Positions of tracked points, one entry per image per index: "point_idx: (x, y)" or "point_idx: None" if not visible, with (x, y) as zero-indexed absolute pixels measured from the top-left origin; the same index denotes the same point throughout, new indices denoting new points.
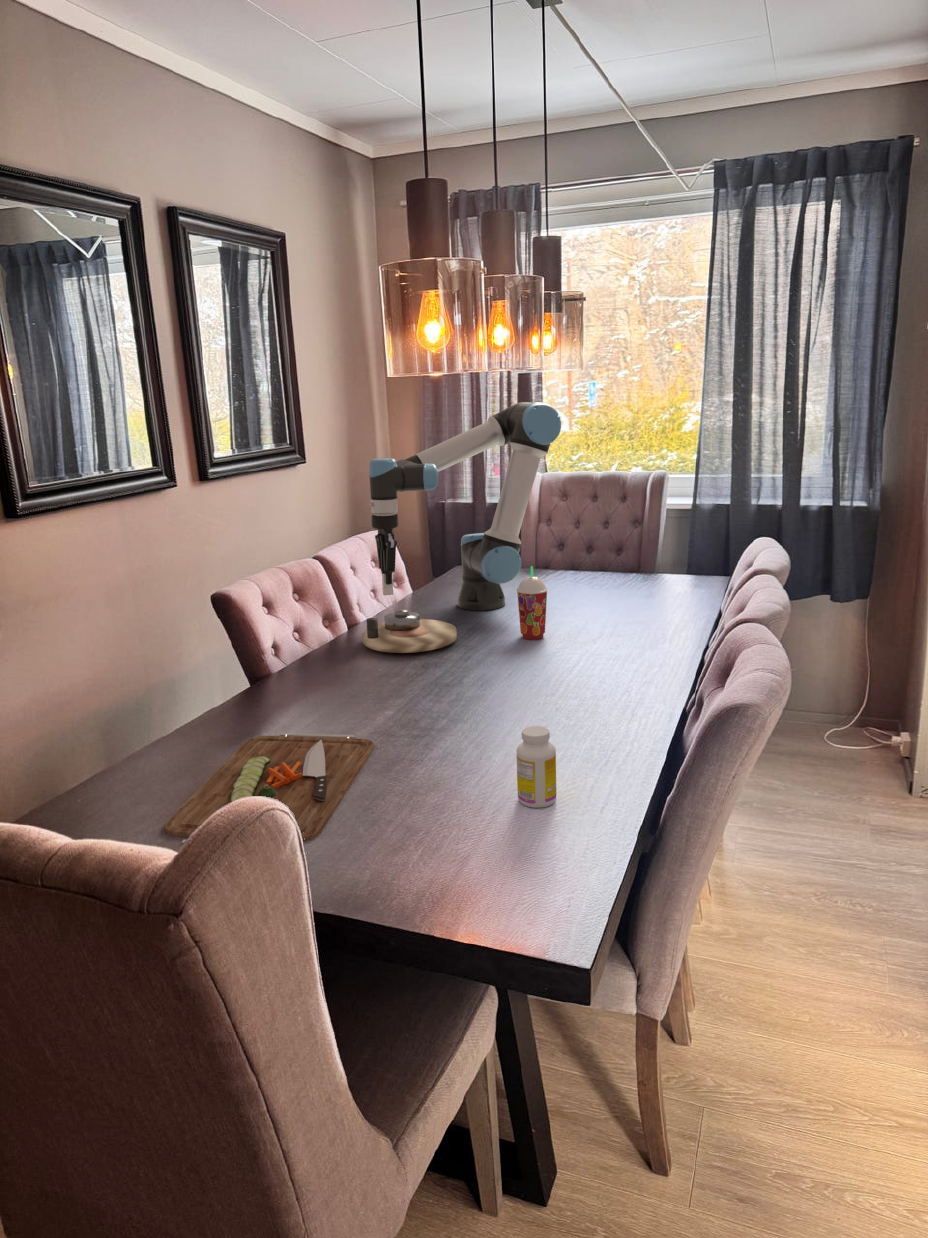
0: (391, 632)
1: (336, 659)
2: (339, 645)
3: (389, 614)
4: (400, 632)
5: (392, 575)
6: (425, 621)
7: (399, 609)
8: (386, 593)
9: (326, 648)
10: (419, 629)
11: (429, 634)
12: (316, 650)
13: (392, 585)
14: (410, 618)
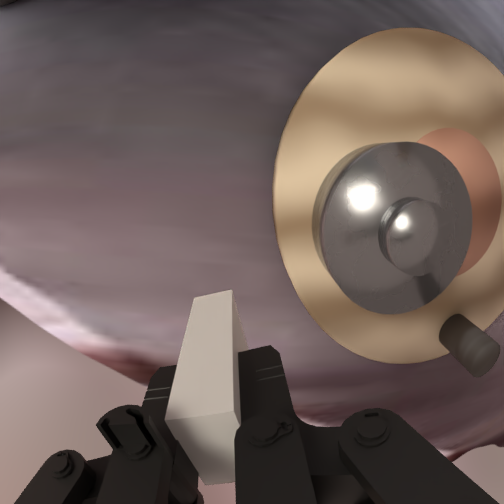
0: None
1: (458, 385)
2: (367, 399)
3: (358, 289)
4: None
5: (232, 385)
6: (339, 105)
7: (394, 246)
8: (244, 342)
9: None
10: None
11: (495, 145)
12: None
13: (233, 327)
14: (461, 200)
